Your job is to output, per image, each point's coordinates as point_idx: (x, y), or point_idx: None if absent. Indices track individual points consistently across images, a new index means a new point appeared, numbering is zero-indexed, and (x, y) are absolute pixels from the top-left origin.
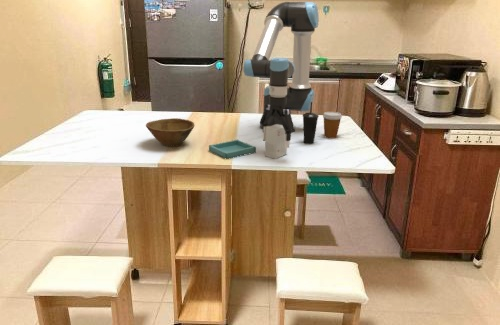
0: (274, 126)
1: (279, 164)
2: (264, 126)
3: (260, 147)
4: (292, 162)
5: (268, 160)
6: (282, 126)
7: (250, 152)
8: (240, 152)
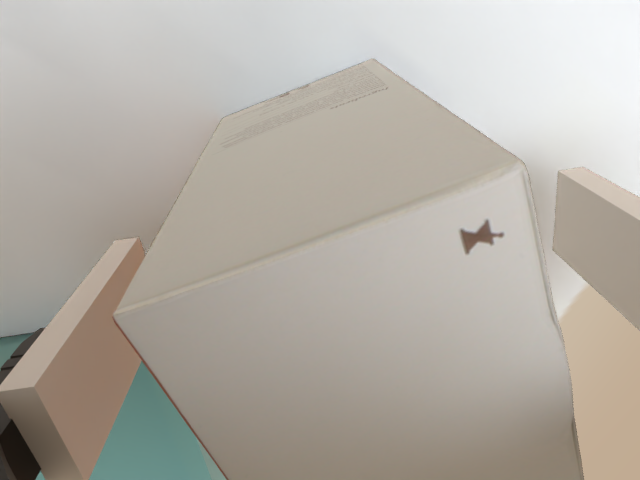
0: (337, 461)
1: (559, 278)
2: (45, 473)
3: (20, 195)
4: (604, 147)
5: None
6: (445, 307)
7: None
8: (215, 465)
